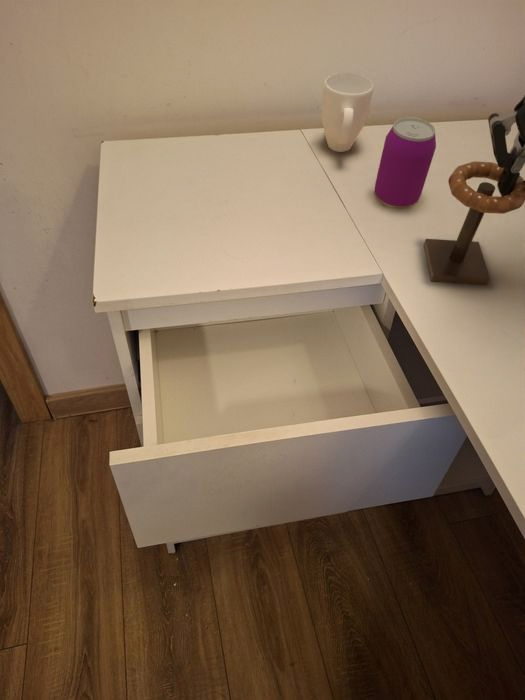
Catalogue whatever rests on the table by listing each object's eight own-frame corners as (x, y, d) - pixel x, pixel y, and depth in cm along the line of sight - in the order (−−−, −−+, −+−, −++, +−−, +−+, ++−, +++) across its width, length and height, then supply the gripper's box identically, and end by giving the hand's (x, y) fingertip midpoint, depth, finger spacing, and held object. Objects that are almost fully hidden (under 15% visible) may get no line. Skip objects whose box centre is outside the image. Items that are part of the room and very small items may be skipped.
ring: (513, 174, 69) (519, 160, 68) (532, 218, 63) (539, 205, 62) (441, 170, 69) (446, 156, 68) (454, 214, 64) (459, 200, 62)
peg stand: (476, 247, 78) (511, 170, 68) (487, 284, 73) (527, 207, 63) (423, 244, 78) (450, 167, 68) (431, 281, 74) (461, 203, 63)
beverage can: (378, 178, 89) (394, 110, 80) (422, 189, 87) (444, 121, 78) (368, 203, 84) (383, 134, 75) (414, 215, 83) (436, 146, 73)
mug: (317, 132, 98) (324, 70, 89) (360, 135, 98) (372, 72, 89) (316, 168, 91) (324, 103, 82) (363, 171, 90) (376, 107, 81)
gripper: (524, 63, 51) (465, 209, 64) (667, 70, 50) (577, 216, 64) (506, 32, 55) (455, 175, 69) (637, 39, 55) (559, 181, 69)
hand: (514, 194), depth 66 cm, fingers closed on ring, 2 cm apart
